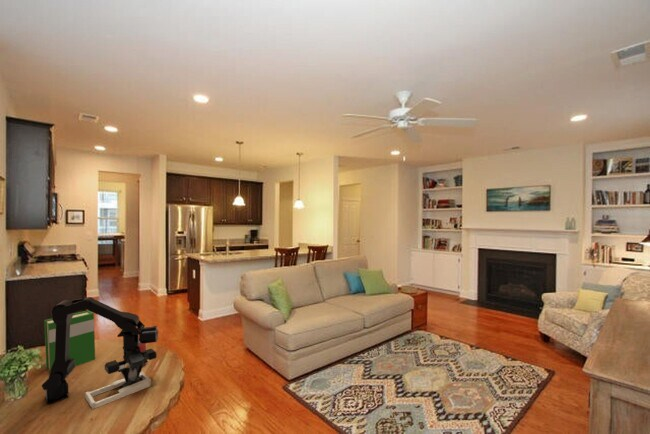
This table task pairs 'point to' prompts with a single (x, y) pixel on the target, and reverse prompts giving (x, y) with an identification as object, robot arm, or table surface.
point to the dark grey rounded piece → (131, 376)
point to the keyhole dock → (122, 392)
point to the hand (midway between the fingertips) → (132, 379)
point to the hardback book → (73, 339)
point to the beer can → (142, 347)
